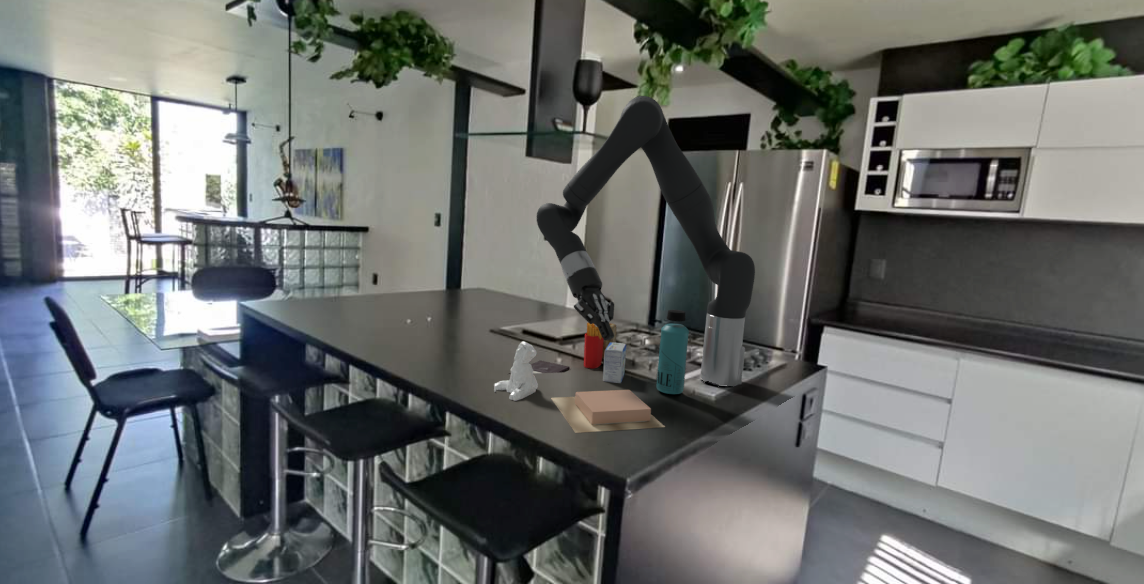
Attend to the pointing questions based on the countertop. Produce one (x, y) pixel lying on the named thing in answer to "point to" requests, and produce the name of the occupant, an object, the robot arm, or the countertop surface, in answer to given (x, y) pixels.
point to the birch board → (583, 424)
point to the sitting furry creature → (520, 374)
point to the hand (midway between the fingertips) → (609, 338)
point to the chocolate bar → (548, 367)
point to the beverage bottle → (672, 355)
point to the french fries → (593, 347)
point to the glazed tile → (612, 407)
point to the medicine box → (614, 362)
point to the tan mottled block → (613, 340)
